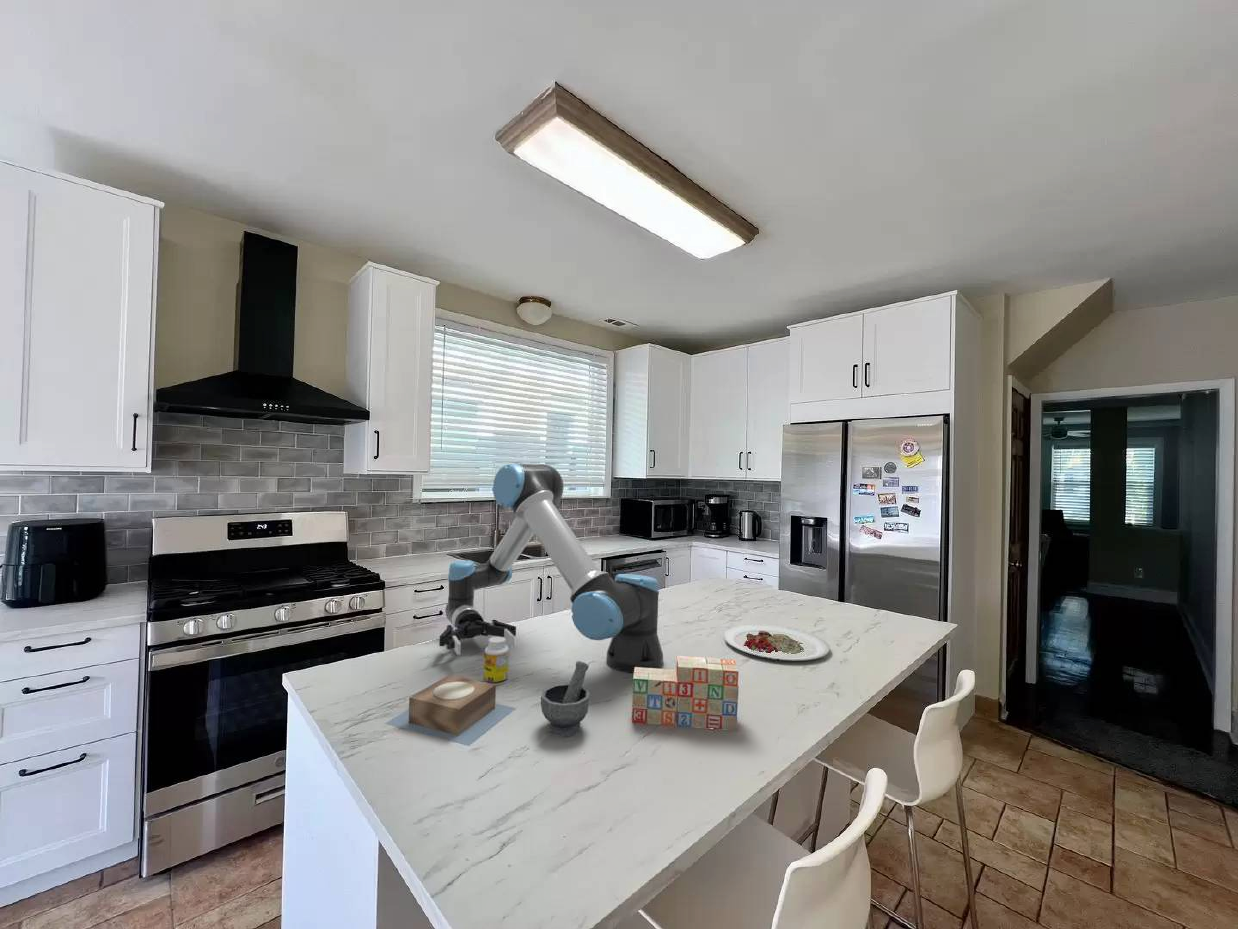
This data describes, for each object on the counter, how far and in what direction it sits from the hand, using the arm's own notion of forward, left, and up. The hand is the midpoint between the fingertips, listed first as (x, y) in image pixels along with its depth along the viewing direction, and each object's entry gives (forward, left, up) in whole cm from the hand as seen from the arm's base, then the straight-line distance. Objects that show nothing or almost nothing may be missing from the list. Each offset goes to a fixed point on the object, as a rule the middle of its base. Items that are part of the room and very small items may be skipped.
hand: (486, 645), depth 131 cm
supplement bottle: (-7, +6, -6) cm, 11 cm away
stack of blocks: (-52, +5, -6) cm, 53 cm away
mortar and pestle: (-32, +18, -6) cm, 37 cm away
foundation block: (-9, +24, -5) cm, 26 cm away
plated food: (-67, -50, -6) cm, 84 cm away
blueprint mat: (-9, +24, -6) cm, 26 cm away
